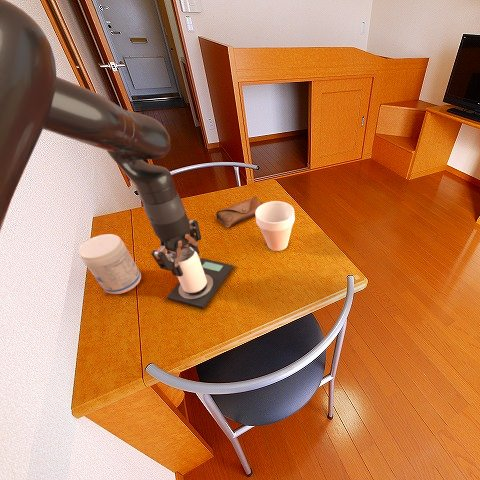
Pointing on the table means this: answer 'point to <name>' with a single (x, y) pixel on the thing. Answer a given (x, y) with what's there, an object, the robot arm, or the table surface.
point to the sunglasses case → (238, 212)
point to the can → (191, 271)
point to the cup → (275, 223)
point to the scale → (214, 277)
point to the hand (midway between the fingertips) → (187, 265)
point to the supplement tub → (110, 263)
